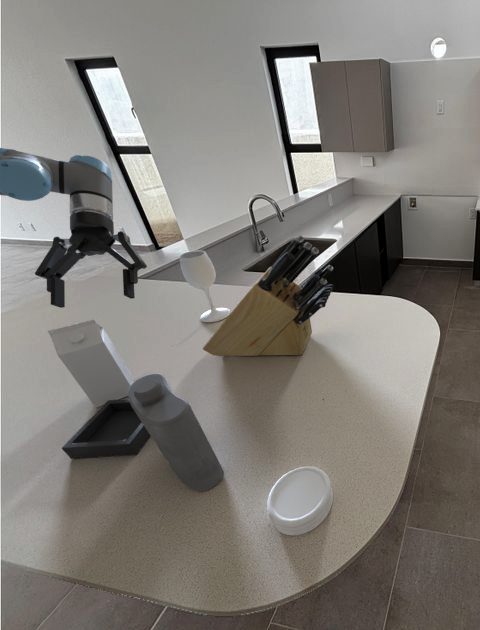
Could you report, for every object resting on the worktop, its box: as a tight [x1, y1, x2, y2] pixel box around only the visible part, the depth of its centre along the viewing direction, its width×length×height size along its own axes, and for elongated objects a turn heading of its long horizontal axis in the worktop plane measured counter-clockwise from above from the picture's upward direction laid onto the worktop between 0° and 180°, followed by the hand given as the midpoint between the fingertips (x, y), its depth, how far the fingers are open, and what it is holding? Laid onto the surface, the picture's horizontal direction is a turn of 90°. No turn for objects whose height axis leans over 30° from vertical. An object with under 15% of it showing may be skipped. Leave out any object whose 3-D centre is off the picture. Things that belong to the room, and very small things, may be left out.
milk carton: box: [47, 318, 134, 408], centre depth 73 cm, size 7×7×19 cm
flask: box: [127, 373, 225, 492], centre depth 57 cm, size 15×6×20 cm, turn 52°
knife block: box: [202, 234, 334, 357], centre depth 86 cm, size 11×35×31 cm, turn 91°
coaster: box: [266, 465, 334, 537], centre depth 55 cm, size 10×10×4 cm
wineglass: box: [178, 249, 231, 323], centre depth 102 cm, size 9×9×21 cm
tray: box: [61, 398, 152, 460], centre depth 68 cm, size 12×12×3 cm
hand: (94, 301), depth 76 cm, fingers open, 13 cm apart
